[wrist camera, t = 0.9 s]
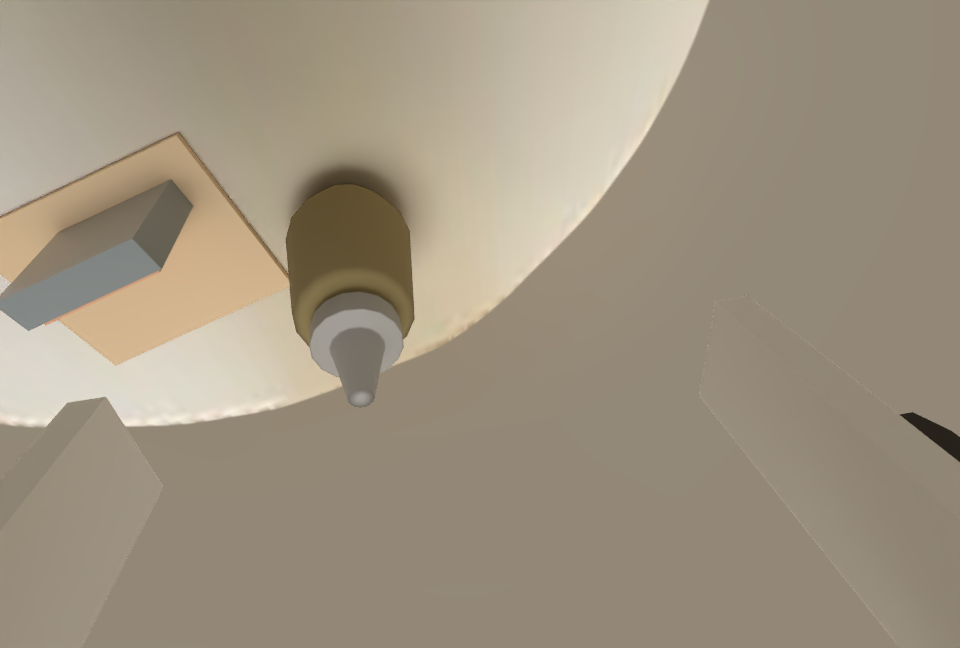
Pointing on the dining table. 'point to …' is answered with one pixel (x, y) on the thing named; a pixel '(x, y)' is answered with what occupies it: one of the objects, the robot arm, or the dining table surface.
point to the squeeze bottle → (351, 284)
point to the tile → (98, 257)
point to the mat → (187, 271)
